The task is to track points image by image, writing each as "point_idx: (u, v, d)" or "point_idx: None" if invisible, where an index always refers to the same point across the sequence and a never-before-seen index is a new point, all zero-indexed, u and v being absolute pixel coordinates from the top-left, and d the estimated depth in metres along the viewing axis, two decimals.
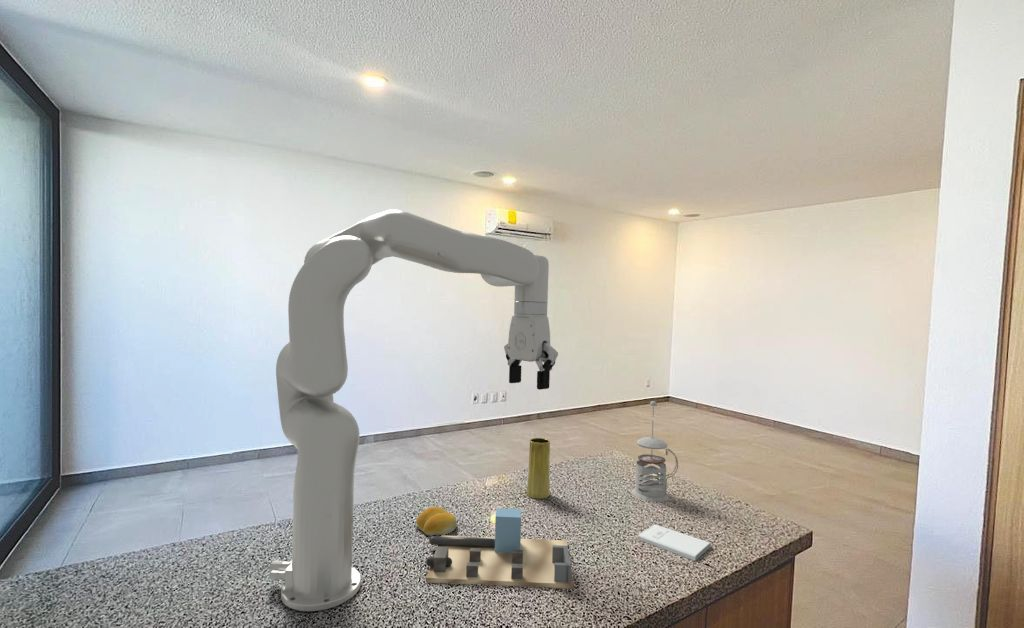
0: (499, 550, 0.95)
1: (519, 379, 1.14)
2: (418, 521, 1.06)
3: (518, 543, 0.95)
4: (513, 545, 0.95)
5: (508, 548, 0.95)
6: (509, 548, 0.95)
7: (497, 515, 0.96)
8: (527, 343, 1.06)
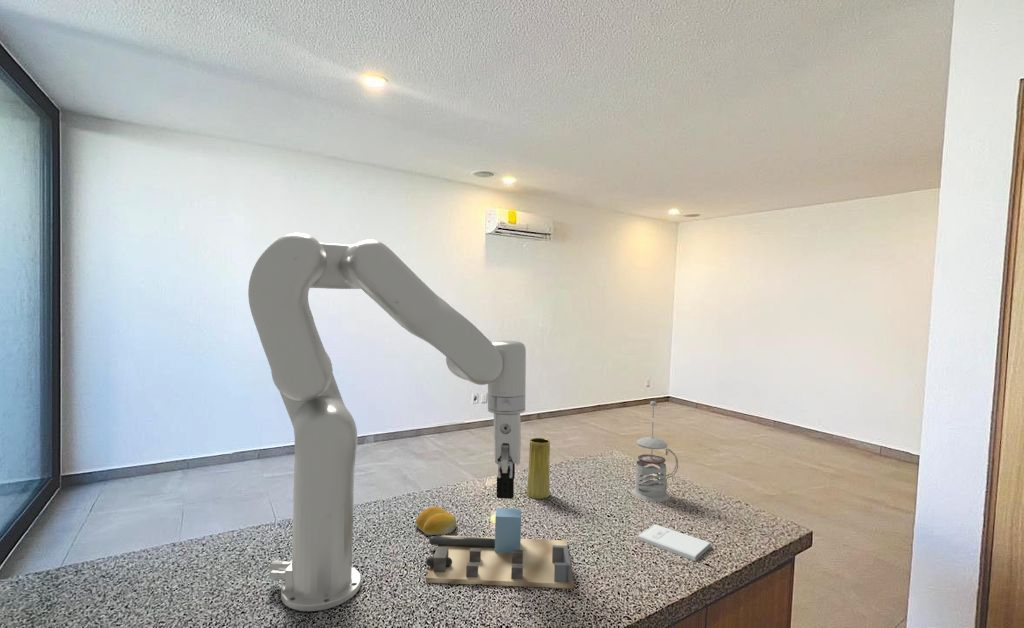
0: (499, 550, 0.95)
1: None
2: (418, 521, 1.06)
3: (518, 543, 0.95)
4: (513, 545, 0.95)
5: (508, 548, 0.95)
6: (509, 548, 0.95)
7: (497, 515, 0.96)
8: None
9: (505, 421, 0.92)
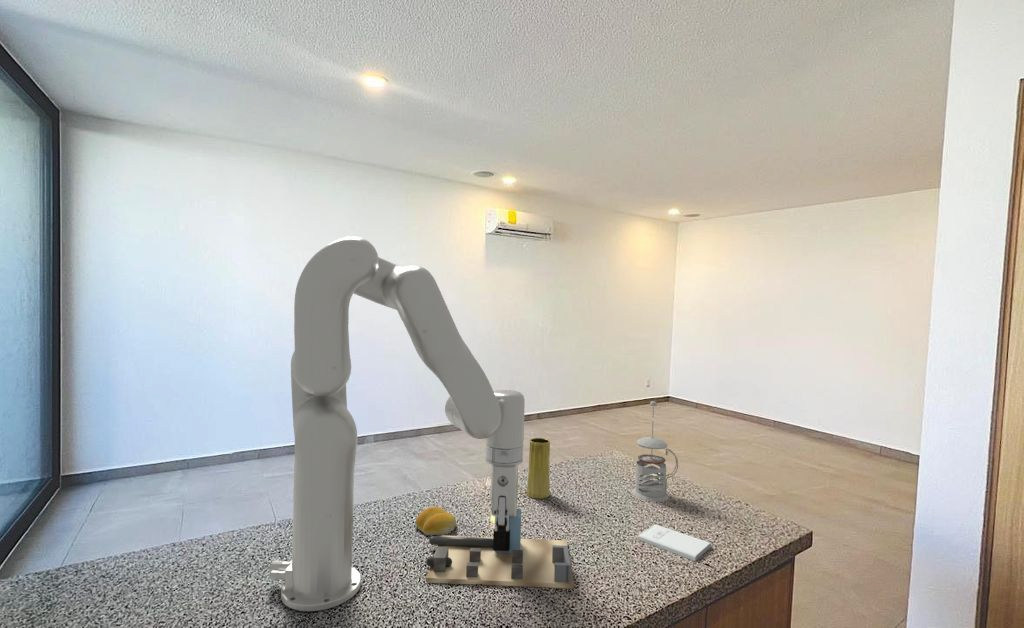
0: None
1: None
2: (417, 521, 1.06)
3: (518, 543, 0.95)
4: (513, 545, 0.95)
5: None
6: None
7: None
8: None
9: (502, 473, 0.92)
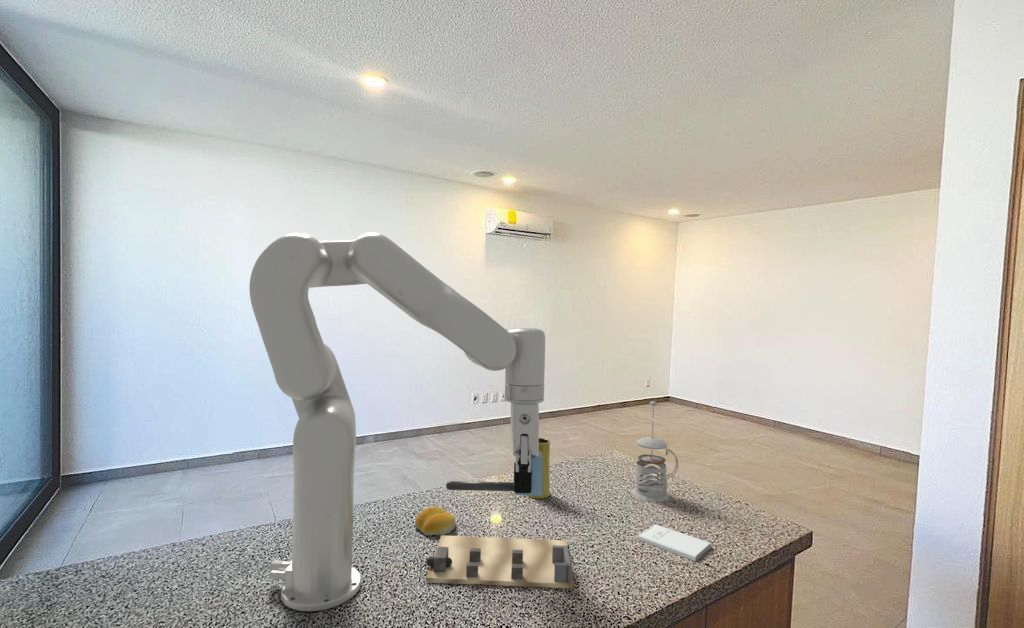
0: (520, 493, 0.91)
1: None
2: (417, 521, 1.06)
3: (540, 485, 0.91)
4: (534, 487, 0.91)
5: None
6: None
7: None
8: None
9: (524, 411, 0.88)
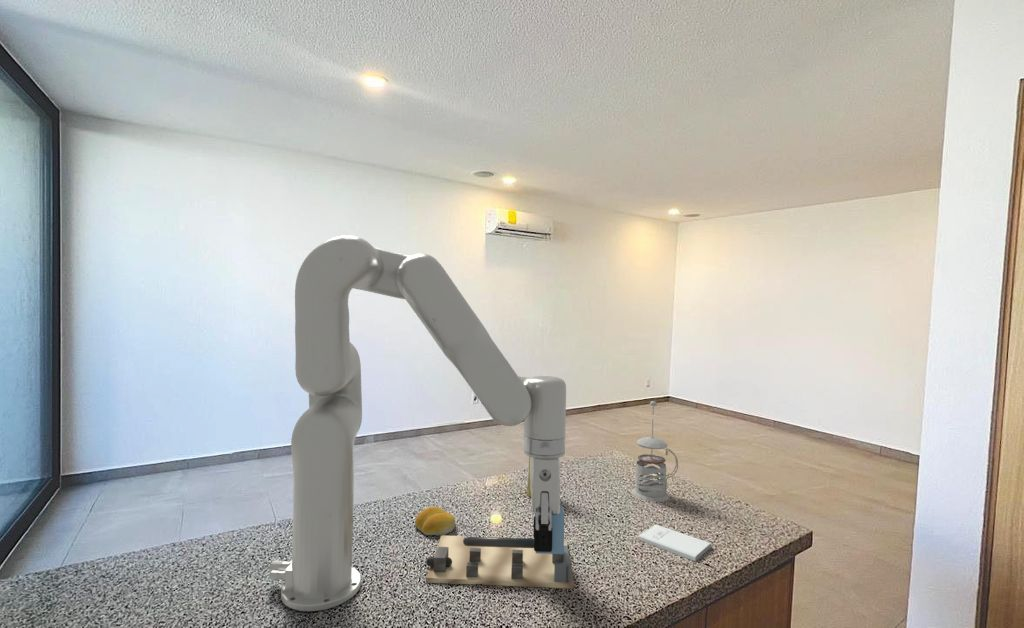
0: None
1: None
2: (417, 521, 1.06)
3: (561, 543, 0.87)
4: (555, 545, 0.87)
5: None
6: None
7: None
8: None
9: (544, 467, 0.84)
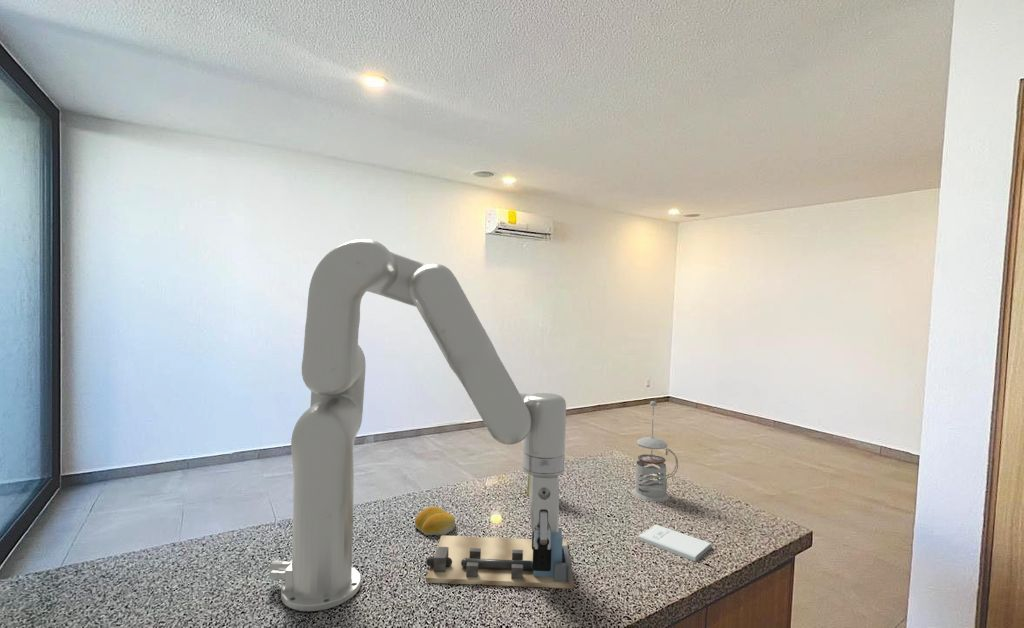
0: (538, 574, 0.87)
1: None
2: (416, 521, 1.06)
3: None
4: (553, 568, 0.87)
5: (548, 572, 0.87)
6: (549, 572, 0.87)
7: None
8: None
9: (544, 485, 0.84)
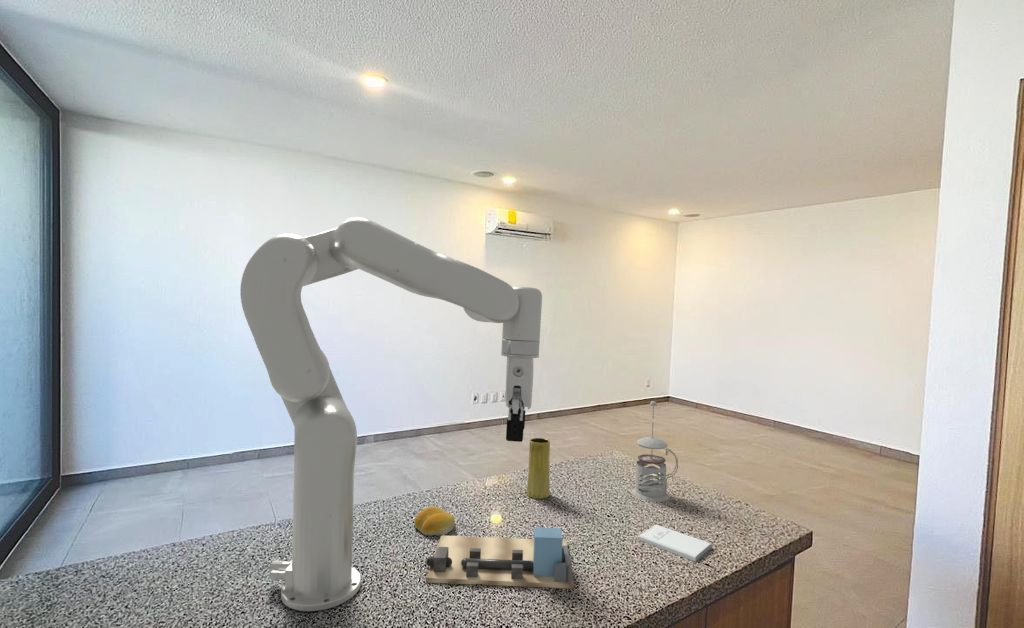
0: (538, 574, 0.87)
1: None
2: (416, 521, 1.06)
3: None
4: (553, 568, 0.87)
5: (548, 572, 0.87)
6: (549, 572, 0.87)
7: (536, 535, 0.87)
8: None
9: (518, 364, 0.92)
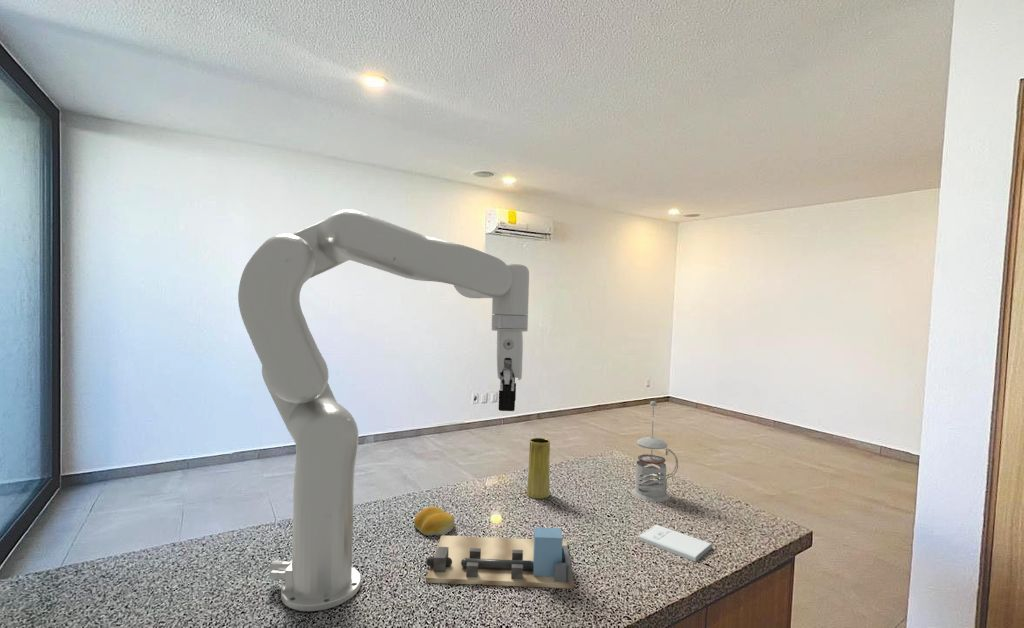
0: (538, 574, 0.87)
1: None
2: (416, 521, 1.06)
3: None
4: (553, 568, 0.87)
5: (548, 572, 0.87)
6: (549, 572, 0.87)
7: (536, 535, 0.87)
8: None
9: (508, 337, 0.97)
